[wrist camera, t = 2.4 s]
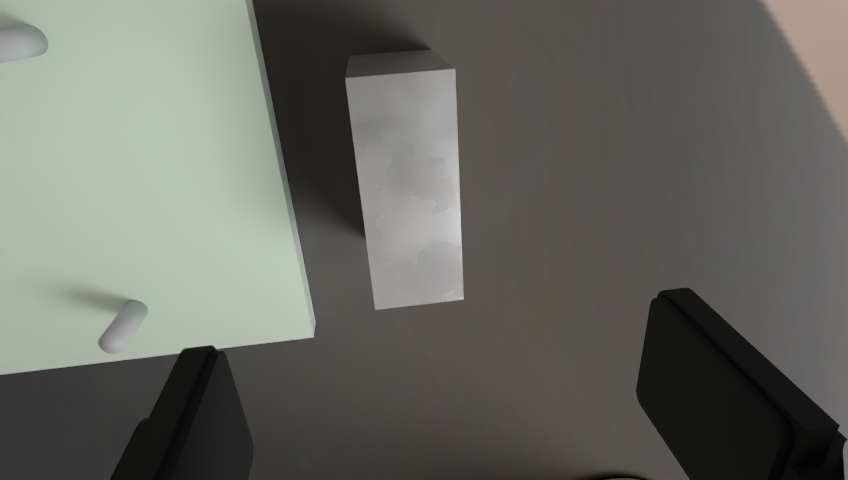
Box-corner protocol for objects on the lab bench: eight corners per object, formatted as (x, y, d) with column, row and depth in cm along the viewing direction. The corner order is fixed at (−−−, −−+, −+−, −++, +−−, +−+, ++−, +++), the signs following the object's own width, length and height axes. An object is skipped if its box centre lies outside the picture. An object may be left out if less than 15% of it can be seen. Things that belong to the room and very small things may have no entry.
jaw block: (431, 49, 25) (455, 68, 18) (441, 233, 29) (463, 299, 23) (349, 55, 24) (344, 78, 18) (372, 240, 29) (375, 309, 23)
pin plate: (240, -59, 22) (213, -70, 18) (315, 322, 31) (308, 372, 27) (-210, -29, 21) (-350, -34, 17) (4, 358, 30) (-52, 416, 26)
